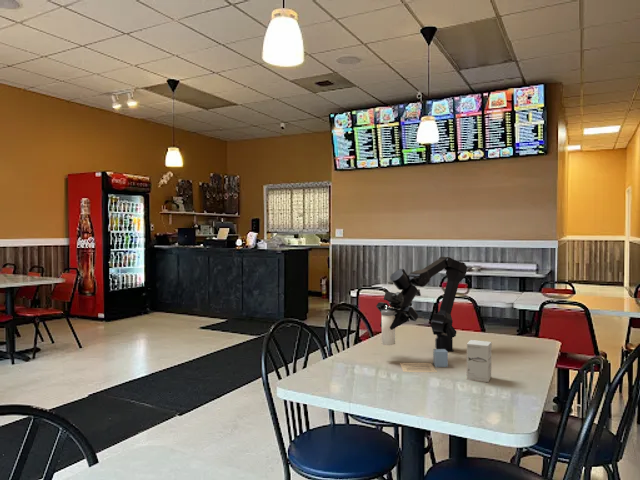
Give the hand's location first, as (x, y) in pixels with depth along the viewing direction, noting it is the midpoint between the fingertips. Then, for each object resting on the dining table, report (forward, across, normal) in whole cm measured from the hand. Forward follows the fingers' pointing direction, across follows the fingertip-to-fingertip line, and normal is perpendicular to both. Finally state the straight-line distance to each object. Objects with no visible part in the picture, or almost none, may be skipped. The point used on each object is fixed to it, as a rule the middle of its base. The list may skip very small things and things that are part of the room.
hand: (385, 328), depth 191 cm
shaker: (+4, 0, +5) cm, 6 cm away
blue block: (0, +16, +19) cm, 25 cm away
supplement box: (+2, +35, +18) cm, 39 cm away
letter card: (+7, +13, +12) cm, 19 cm away
